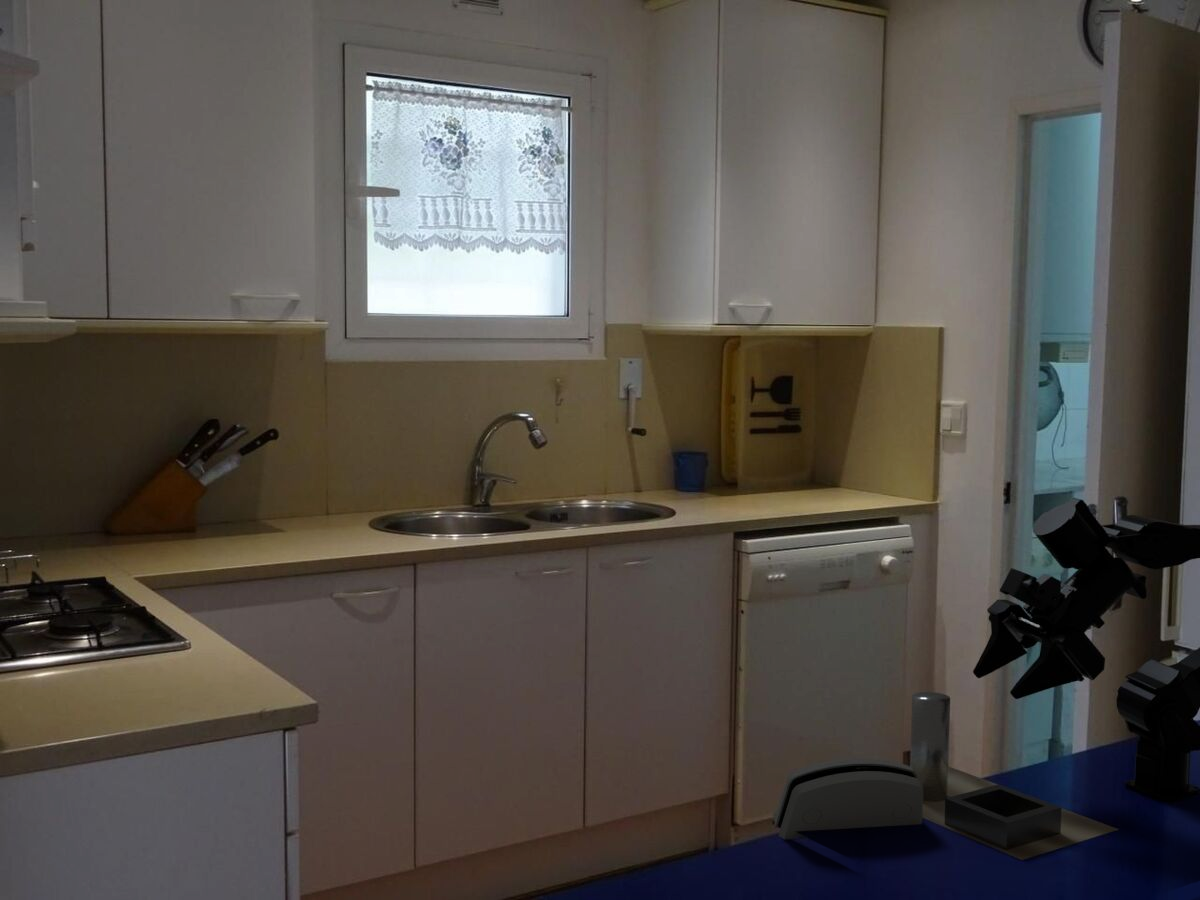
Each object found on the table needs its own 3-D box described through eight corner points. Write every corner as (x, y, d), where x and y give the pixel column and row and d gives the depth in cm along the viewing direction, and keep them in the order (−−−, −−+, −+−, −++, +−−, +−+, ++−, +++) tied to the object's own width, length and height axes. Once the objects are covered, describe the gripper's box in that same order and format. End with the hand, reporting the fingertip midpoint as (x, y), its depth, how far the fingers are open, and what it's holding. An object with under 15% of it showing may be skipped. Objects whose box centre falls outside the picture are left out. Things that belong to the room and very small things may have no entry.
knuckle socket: (997, 809, 156) (998, 784, 156) (1060, 833, 149) (1061, 807, 148) (944, 824, 151) (945, 798, 151) (1006, 850, 144) (1007, 823, 144)
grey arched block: (906, 816, 157) (920, 747, 153) (921, 844, 153) (935, 774, 148) (768, 824, 154) (778, 754, 150) (779, 853, 150) (790, 781, 146)
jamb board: (942, 771, 172) (943, 764, 172) (1118, 838, 150) (1118, 829, 150) (850, 795, 163) (850, 787, 163) (1021, 868, 141) (1022, 859, 141)
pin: (927, 786, 163) (930, 690, 162) (955, 797, 160) (958, 698, 159) (901, 793, 161) (904, 695, 160) (929, 804, 157) (931, 704, 156)
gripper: (1008, 535, 169) (919, 620, 167) (1090, 561, 150) (991, 657, 149) (1059, 598, 171) (972, 682, 170) (1146, 632, 153) (1049, 726, 151)
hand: (993, 685), depth 160 cm, fingers open, 9 cm apart
